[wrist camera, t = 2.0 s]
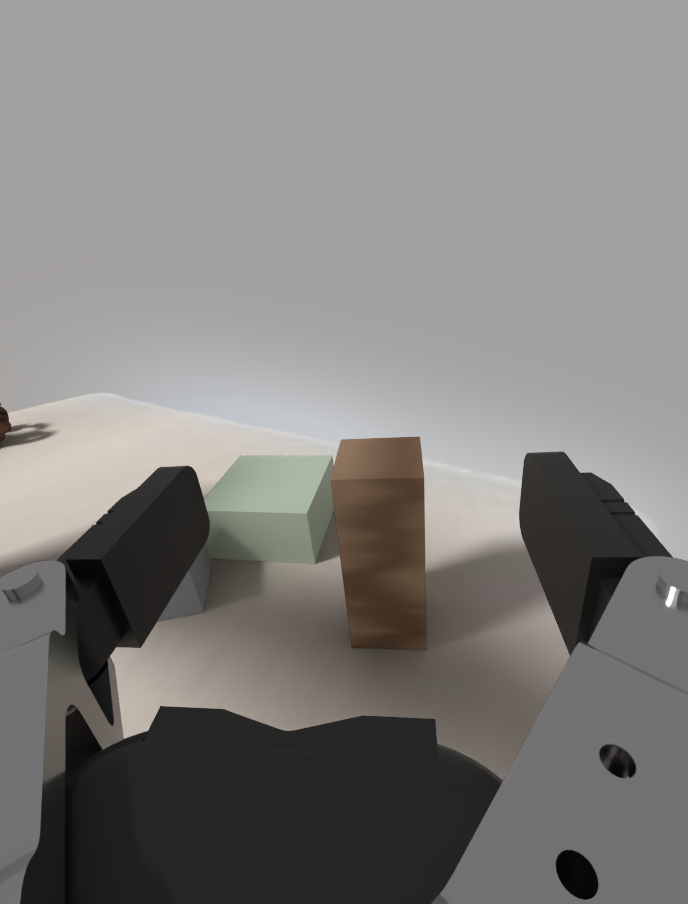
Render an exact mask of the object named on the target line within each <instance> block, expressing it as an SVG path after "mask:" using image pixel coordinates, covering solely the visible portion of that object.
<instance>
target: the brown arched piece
mask: <svg viewBox="0 0 688 904" xmlns="http://www.w3.org/2000/svg"><path fill="white" fill-rule="evenodd" d="M0 405H1V403H0ZM11 429H12V428H11V424H10V423H9V417H8V413H7V411H6V410H5V409H4V408H2V407H0V442H1V441H2V440H4V439H5V433H7V432H8V431H10V430H11Z"/></svg>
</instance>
